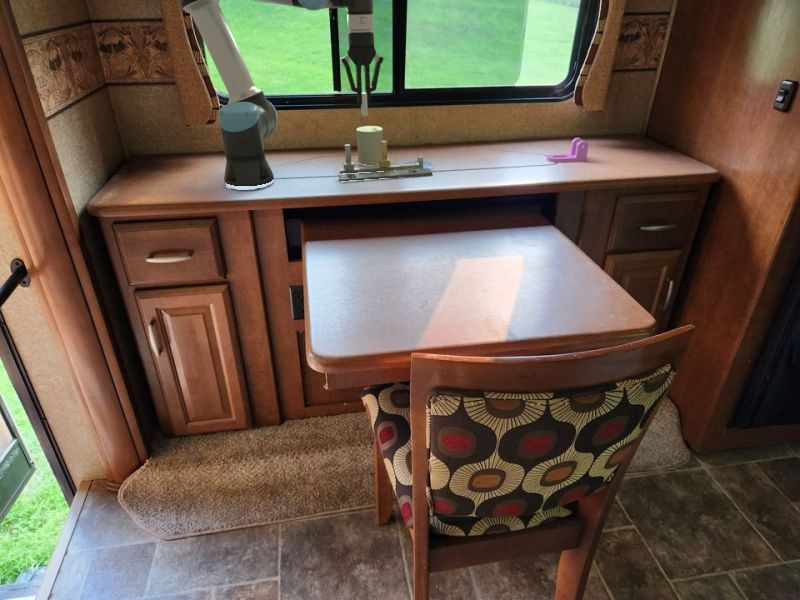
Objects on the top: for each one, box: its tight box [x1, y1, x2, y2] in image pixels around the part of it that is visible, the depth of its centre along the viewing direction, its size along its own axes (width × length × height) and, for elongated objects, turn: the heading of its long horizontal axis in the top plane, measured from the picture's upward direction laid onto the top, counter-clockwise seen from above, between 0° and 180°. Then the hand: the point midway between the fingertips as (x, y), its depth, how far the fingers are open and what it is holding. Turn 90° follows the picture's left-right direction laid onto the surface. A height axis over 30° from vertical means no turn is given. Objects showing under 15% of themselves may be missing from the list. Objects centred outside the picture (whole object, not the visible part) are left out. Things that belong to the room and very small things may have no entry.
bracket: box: [546, 137, 589, 163], centre depth 181 cm, size 13×6×7 cm, turn 97°
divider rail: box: [339, 143, 424, 174], centre depth 172 cm, size 28×3×9 cm, turn 103°
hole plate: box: [338, 167, 433, 181], centre depth 168 cm, size 30×5×1 cm, turn 103°
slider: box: [378, 140, 391, 167], centre depth 171 cm, size 3×3×8 cm
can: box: [355, 125, 384, 166], centre depth 180 cm, size 9×9×12 cm
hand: (364, 114), depth 164 cm, fingers closed
